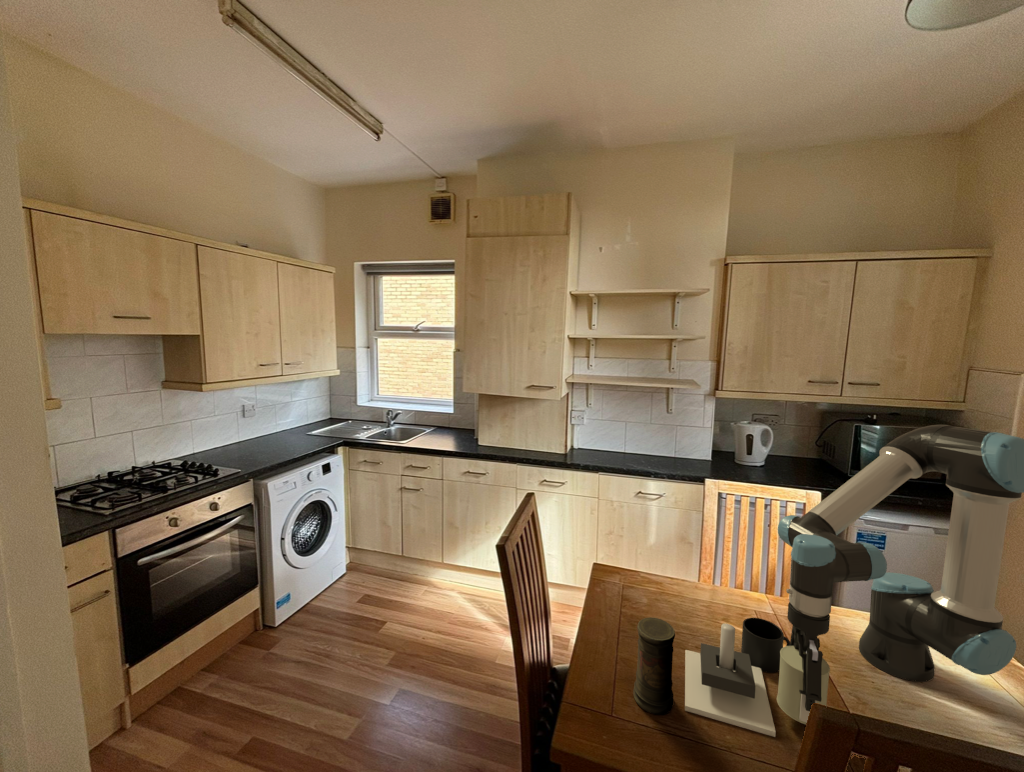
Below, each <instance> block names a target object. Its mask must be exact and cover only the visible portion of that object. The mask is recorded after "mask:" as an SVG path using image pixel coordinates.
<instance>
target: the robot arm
mask: <svg viewBox="0 0 1024 772" xmlns="http://www.w3.org/2000/svg"><path fill="white" fill-rule="evenodd" d="M879 449H880V450H879V456H877V458H875V459H874V460H873V461H871V462H870V463H869V464H867V465H866V466H865V467H863V468H862V469H861V470H860V471H858V472H857V473H856V474H854V475H853V476H852V477H851V478H850V479H848V480H846V482H845V483H843V484H842V485H840V487H838V488H837V489H836V490H834V491H833V492H831V493H830V494H829V495H828V496H826V497H825V498H824V499H822V500H821V501H820V502H819V503H818V504H816V505H815V506H814V507H812V508H811V509H810V510H808V512H807V513H805V514H804V515H802V516H798V515H794V514H793V515H792V514H790V515H786V516H784V517H782V519H781V520H780V521H779V523H778V524H777V525H778V526H777V534H778V536H779V538H780V539H781V541H783V542H784V543H785V544H787V545H789V546H790V547H791V551H790V557H791V559H790V579H789V580H790V581H789V588H786V594H788V595H789V596H788V604H787V617H786V618H787V620H788V622H789V623H790V625H792V626H791V627H792V628H791V635H790V639H789V641H790V646H794V647H795V649H798V650H799V655H800V656H801V657H802V670H803V672H804V673H803V690H799V692H800V694H801V701H800V715H799V719H800V721H803V722H806V723H807V720H808V716H809V713H810V709H811V705H812V704H813V703H817V701H819V702H821V700H822V698H821V671H822V658H823V655H824V654H823V651H821V650H820V649H819V648H820V647H821V641H820V638H818V637H819V636H821V635H826V634H827V633H828V632H829V631H830V624H831V623H830V621H831V615H830V614H831V612H832V600H833V599H832V598H833V584H834V583H843V582H847V583H849V582H868V581H871V580H872V585H871V586H870V589H871V591H870V606H869V608H870V609H869V622H868V625H867V627H866V628H865V630H864V632H863V633H862V635H861V636H860V637H859V638H860V639H859V641H858V651H859V653H860V655H861V656H862V657H863V658H864V659H865V660H866V661H867V662H868V663H870V664H871V665H872V666H874V667H876V668H878V669H879V670H880V671H882V672H885V673H887V674H890V675H892V676H893V677H897V678H899V679H902V680H907V681H910V682H917V683H925V682H931V681H932V680H933V679H934V677H935V672H936V671H935V670H936V667H935V665H936V664H935V662H934V659H933V656H932V652H931V651H930V648H931V649H933V650H934V651H936V652H937V653H939V654H941V655H942V656H944V657H945V658H948V660H950V661H952V662H953V663H954V664H955V665H958V666H960V667H962V668H964V669H966V670H967V671H970V673H974V674H976V675H982V676H989V675H993V674H996V673H998V672H1000V671H1002V670H1003V669H1004V668H1005V667H1007V666H1008V664H1010V662H1012V661H1011V660H1013V657H1014V656H1015V654H1016V651H1017V642H1016V640H1015V637H1014V636H1013V635H1012V634H1011V633H1010V632H1009V631H1007V630H1005V629H1003V622H1004V616H1003V614H1002V613H1001V612H1000V611H999V610H998V609H997V607H995V605H996V599H997V589H998V583H999V577H1000V570H1001V564H1002V559H1003V558H1002V556H1003V550H1004V543H1005V536H1006V529H1007V524H1008V517H1009V509H1010V504H1012V503H1014V502H1016V501H1019V500H1021V499H1022V494H1024V438H1022V437H1020V436H1015V435H1010V434H1007V433H1003V432H997V431H989V430H983V429H976V428H975V429H974V428H969V427H968V428H967V427H960V426H955V425H950V424H932V425H927V426H922V427H919V428H915V429H913V430H911V431H908V432H906V433H903V434H901V435H899V436H897V437H896V438H894V439H893V440H891V441H890V442H888V443H886V444H885V445H884V446H883V447H881V448H879ZM929 472H937V473H941V474H945V475H946V478H945V479H946V480H945V486H946V487H947V488H949V490H950V491H951V492H952V493H953V497H952V505H951V512H950V519H949V525H948V526H949V527H948V533H947V543H946V549H945V555H944V556H945V557H944V562H943V563H944V564H943V571H942V578H941V586H940V589H939V590H937V591H934V590H935V589H934V588H933V585H932V584H931V583H930V582H928V581H926V580H925V579H923V578H920V577H917V576H913V575H911V574H910V575H909V574H904V573H899V572H889V571H887V570H888V563H887V560H886V557H885V555H884V553H883V552H882V551H881V550H880V549H879V548H878V547H877V546H875V545H874V544H872V543H869V542H868V543H867V542H859V541H858V542H851V541H849V540H847V539H845V538H843V537H841V536H839V535H840V534H841V533H842V532H844V531H845V530H846V529H847V528H848V527H850V526H851V525H852V524H853V523H855V522H856V521H857V520H858V519H860V518H861V517H862V516H863V515H865V514H866V513H868V512H869V511H870V510H872V509H873V508H874V507H876V505H878V504H879V503H880V502H881V501H883V500H884V499H885V498H887V497H888V496H889V495H890V494H892V493H893V492H894V491H896V490H897V489H898V488H899V487H901V486H902V485H903V484H905V483H906V482H907V481H908V480H910V479H918V478H921V477H922V476H923V475H924V474H926V473H929ZM803 652H806V654H804V653H803Z"/></svg>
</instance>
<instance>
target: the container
mask: <svg viewBox="0 0 1024 772" xmlns="http://www.w3.org/2000/svg"><path fill="white" fill-rule="evenodd" d="M636 628H637V629H636V630H637V633H638V639H637V664H636V673H635V677H636V679H635V681H634V683H633V685H634V686H633V698H634V700H635V702H636V704H637V705H638V706H639V707H640V708H641V709H642V710H645V711H646V712H647V713H650V714H653V715H658V716H659V715H661V716H662V715H666V714H668V713H670V712H671V711H672V709H673V708H674V705H675V703H674V702H675V701H674V692H673V685H674V684H673V678H672V677H673V659H674V658H673V657H674V642H675V638H676V632H675V629H674V627H673V626H672V625H671V624H670V623H669V622H667V621H665V620H664V619H661V618H658V617H653V616H651V617H644V618H641V620H639V622H638V623H637V627H636Z"/></svg>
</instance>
